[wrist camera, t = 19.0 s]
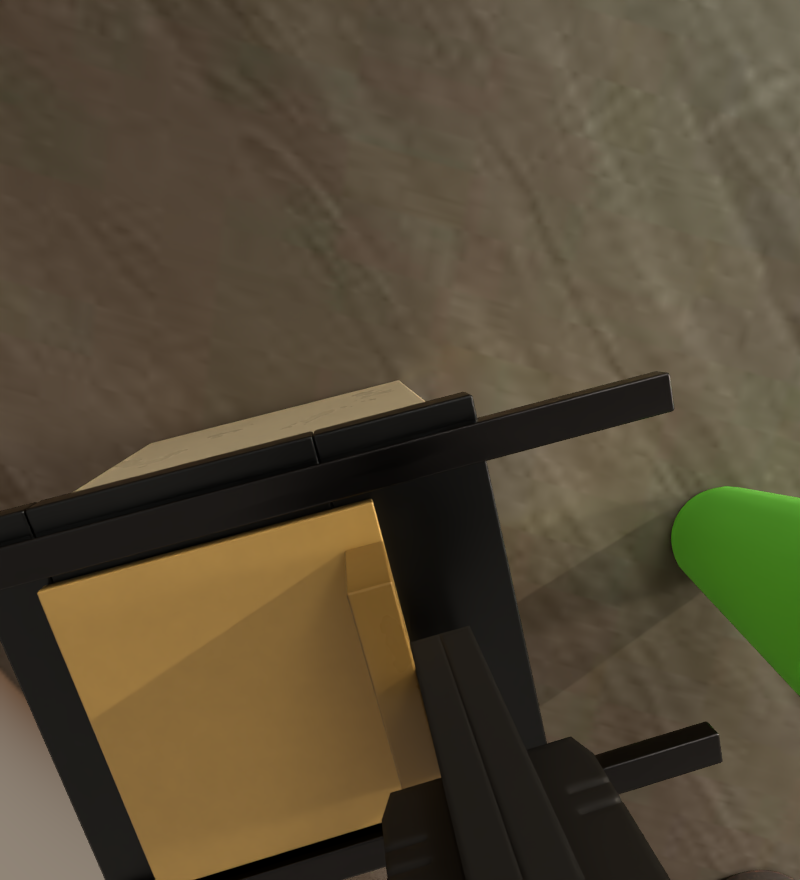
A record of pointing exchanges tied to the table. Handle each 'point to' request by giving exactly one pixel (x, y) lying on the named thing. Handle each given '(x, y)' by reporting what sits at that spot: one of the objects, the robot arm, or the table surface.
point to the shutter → (249, 689)
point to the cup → (747, 566)
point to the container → (760, 875)
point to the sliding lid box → (297, 495)
